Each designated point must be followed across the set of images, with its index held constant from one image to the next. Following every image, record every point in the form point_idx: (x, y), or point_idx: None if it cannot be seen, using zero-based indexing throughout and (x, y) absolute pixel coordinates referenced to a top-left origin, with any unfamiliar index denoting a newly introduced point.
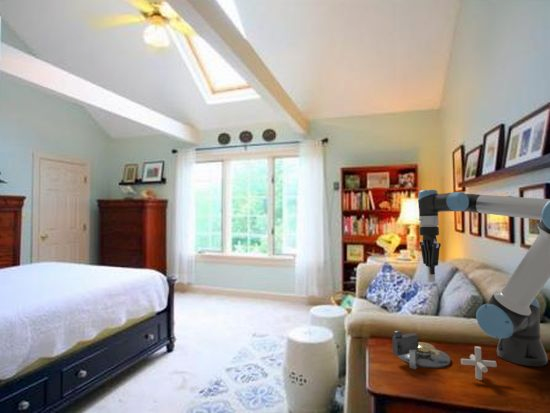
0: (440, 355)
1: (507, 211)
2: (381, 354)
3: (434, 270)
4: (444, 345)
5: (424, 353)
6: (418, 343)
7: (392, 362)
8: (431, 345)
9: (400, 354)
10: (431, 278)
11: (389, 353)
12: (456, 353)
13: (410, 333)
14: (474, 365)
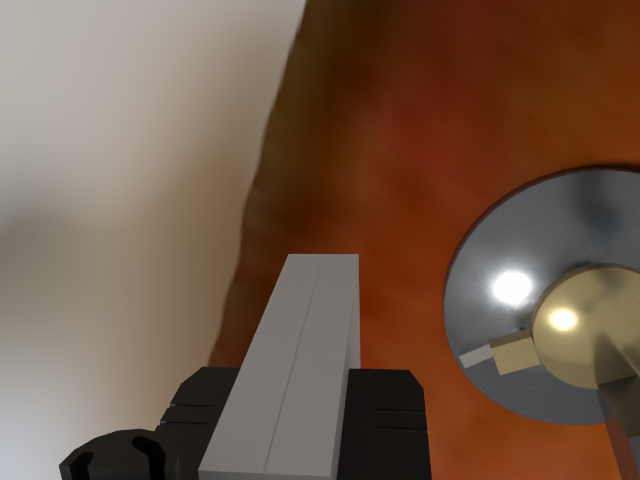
0: (625, 221)
1: None
2: (499, 471)
3: (425, 447)
4: (415, 71)
5: None
6: (558, 336)
7: (604, 462)
8: (608, 278)
9: None
10: (354, 358)
11: (492, 433)
12: (560, 69)
13: (637, 458)
14: None
